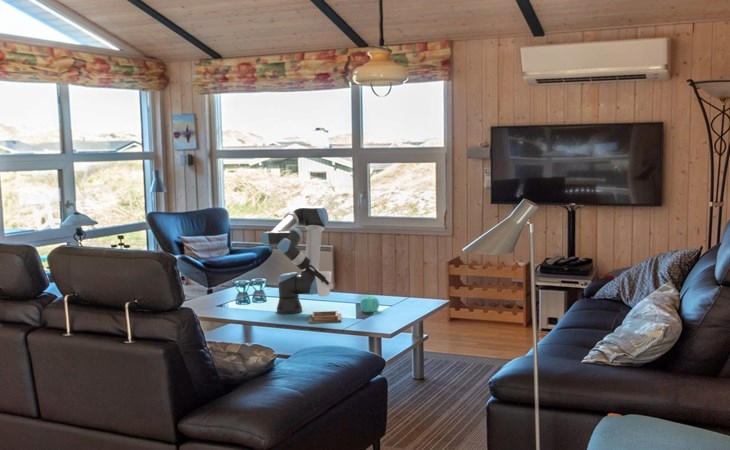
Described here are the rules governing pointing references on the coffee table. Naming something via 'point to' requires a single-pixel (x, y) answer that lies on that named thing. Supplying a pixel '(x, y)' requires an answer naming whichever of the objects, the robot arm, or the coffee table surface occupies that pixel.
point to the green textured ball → (369, 304)
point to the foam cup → (321, 287)
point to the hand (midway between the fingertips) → (329, 286)
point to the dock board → (325, 317)
